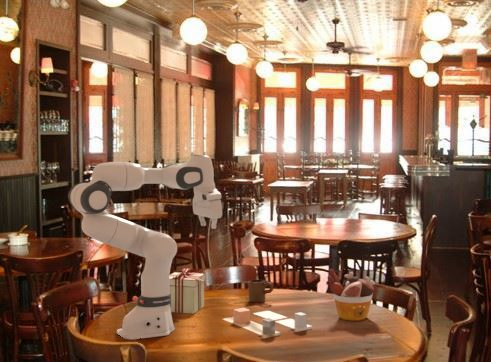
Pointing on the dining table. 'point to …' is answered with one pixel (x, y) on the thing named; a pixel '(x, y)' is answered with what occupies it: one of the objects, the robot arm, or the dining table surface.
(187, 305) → the gift box
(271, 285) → the mug
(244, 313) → the terracotta block
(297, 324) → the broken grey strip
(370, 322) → the dining table surface
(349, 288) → the bucket of meat
